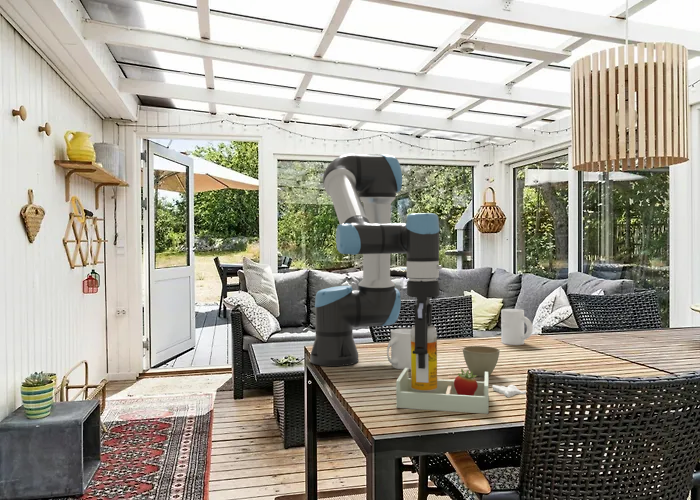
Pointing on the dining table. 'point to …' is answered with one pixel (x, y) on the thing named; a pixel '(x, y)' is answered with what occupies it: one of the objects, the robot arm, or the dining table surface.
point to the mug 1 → (400, 349)
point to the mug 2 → (514, 326)
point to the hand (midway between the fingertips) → (424, 378)
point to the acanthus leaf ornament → (507, 390)
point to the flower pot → (481, 359)
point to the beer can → (432, 362)
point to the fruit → (465, 383)
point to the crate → (441, 396)
